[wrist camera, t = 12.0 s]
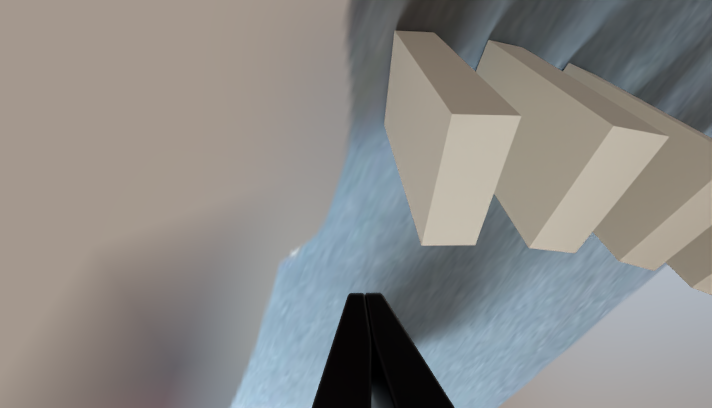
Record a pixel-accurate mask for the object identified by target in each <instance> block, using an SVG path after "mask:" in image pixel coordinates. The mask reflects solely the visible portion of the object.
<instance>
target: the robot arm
mask: <svg viewBox="0 0 712 408" xmlns="http://www.w3.org/2000/svg"><path fill="white" fill-rule="evenodd" d="M312 408H454V406H453V404H452V403H451V401H450V400H449V398H448V397H447V395H446V393H445V392H444V390H443V389H442V387H441V386H440V384H439V382H438V381H437V379H436V378H435V376H434V375H433V373H432V371H431V370H430V368H429V367H428V365H427V364H426V362H425V360H424V359H423V357H422V356H421V354H420V353H419V351H418V349H417V348H416V346H415V345H414V343H413V342H412V340H411V338H410V337H409V335H408V334H407V332H406V331H405V329H404V327H403V326H402V324H401V323H400V321H399V320H398V318H397V316H396V315H395V313H394V312H393V310H392V309H391V307H390V305H389V304H388V302H387V301H386V299H385V298H384V296H383V295H382V294H381V293H366V294H363V293H350V294H349V295H348V297H347V300H346V303H345V306H344V309H343V313H342V316H341V319H340V322H339V325H338V328H337V331H336V334H335V337H334V340H333V343H332V347H331V350H330V353H329V356H328V359H327V362H326V365H325V368H324V371H323V374H322V377H321V381H320V384H319V387H318V390H317V393H316V396H315V399H314V402H313V405H312Z"/></svg>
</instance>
